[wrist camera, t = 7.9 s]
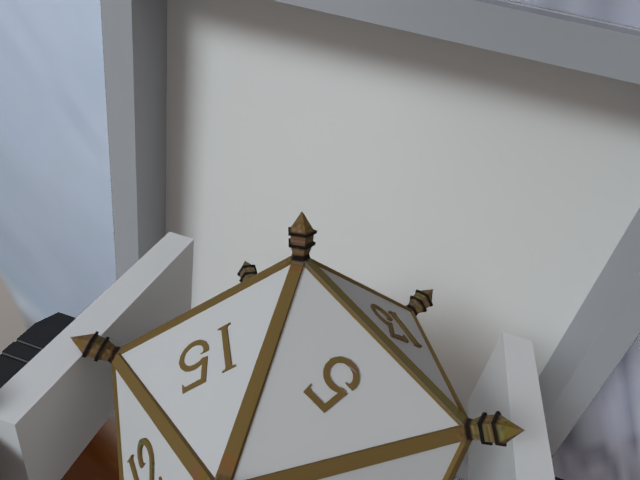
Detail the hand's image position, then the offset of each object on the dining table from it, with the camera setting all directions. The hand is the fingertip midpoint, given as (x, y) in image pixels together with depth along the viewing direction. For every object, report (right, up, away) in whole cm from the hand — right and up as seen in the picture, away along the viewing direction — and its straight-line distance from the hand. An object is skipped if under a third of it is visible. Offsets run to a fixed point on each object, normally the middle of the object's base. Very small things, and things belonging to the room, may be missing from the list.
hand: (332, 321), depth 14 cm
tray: (+1, +3, +5) cm, 6 cm away
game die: (0, 0, 0) cm, 1 cm away
